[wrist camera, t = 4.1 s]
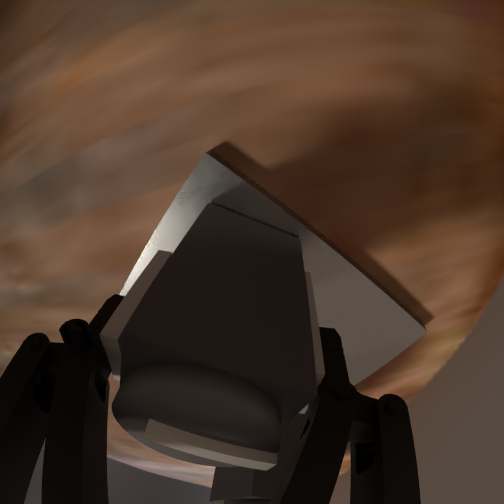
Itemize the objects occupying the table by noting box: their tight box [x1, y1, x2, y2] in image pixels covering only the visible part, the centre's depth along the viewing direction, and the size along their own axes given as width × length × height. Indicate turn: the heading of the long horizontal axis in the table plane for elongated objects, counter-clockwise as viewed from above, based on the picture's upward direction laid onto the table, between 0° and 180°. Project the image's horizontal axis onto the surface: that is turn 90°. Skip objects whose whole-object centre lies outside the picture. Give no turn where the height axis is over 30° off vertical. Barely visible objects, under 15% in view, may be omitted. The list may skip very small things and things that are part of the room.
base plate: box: [120, 150, 427, 386], centre depth 21 cm, size 20×20×1 cm
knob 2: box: [210, 408, 309, 504], centre depth 19 cm, size 5×5×11 cm
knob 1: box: [112, 203, 318, 471], centre depth 12 cm, size 5×5×11 cm
